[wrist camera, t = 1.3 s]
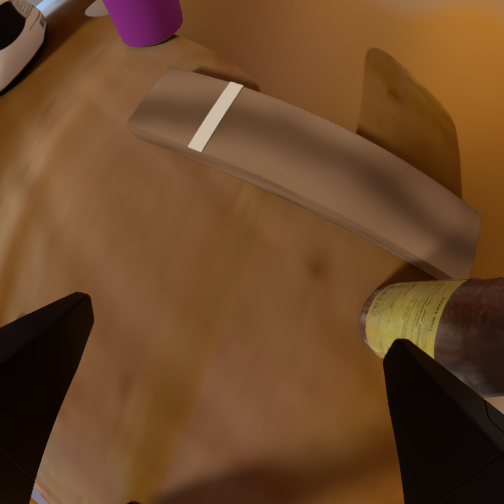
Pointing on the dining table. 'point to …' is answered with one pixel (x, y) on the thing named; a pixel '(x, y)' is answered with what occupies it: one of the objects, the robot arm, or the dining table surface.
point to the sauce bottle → (444, 326)
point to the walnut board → (312, 167)
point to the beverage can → (145, 20)
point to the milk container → (19, 38)
